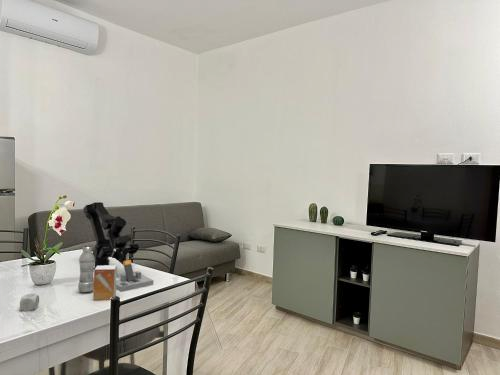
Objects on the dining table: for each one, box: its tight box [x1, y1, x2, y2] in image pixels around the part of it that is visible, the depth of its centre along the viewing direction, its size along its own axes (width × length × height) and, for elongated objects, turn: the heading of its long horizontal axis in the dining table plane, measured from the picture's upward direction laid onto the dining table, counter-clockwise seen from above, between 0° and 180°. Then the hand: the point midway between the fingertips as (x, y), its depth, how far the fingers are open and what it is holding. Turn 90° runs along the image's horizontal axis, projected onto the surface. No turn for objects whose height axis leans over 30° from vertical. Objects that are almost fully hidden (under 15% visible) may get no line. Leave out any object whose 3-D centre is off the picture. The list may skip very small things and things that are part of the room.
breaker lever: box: [122, 259, 136, 283], centre depth 165 cm, size 2×4×10 cm
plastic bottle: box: [77, 245, 95, 293], centre depth 151 cm, size 6×7×20 cm
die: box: [19, 293, 40, 312], centre depth 131 cm, size 5×5×5 cm
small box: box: [92, 264, 118, 301], centre depth 146 cm, size 8×6×13 cm
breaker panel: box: [116, 270, 154, 293], centre depth 164 cm, size 14×16×5 cm
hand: (124, 264), depth 168 cm, fingers closed
